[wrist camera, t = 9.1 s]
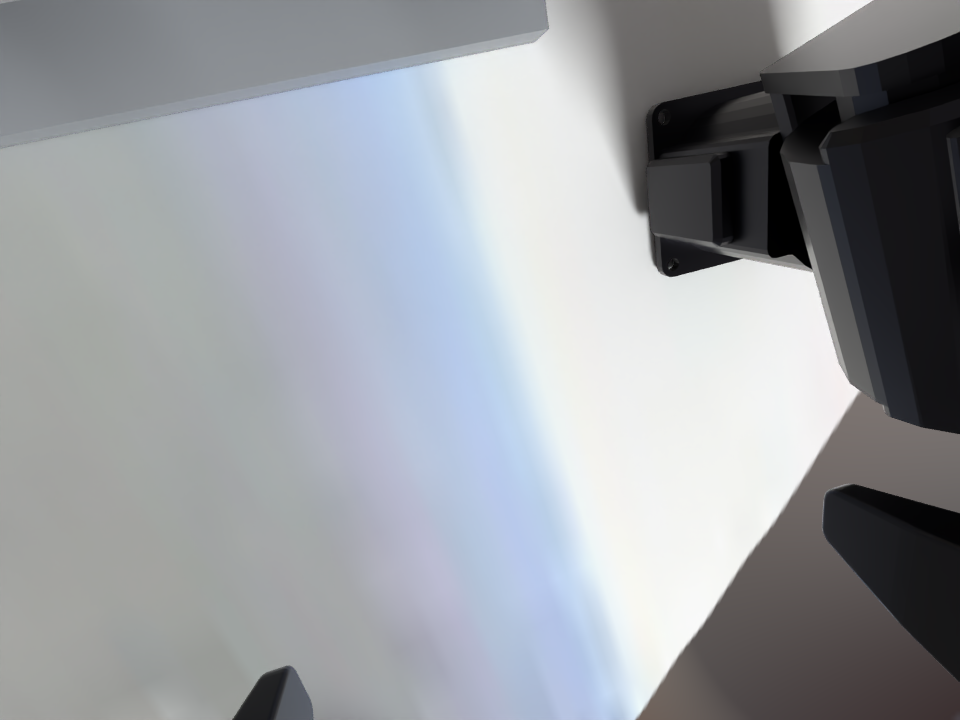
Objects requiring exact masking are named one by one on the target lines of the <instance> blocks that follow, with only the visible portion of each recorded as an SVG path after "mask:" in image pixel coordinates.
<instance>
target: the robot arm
mask: <svg viewBox="0 0 960 720" xmlns="http://www.w3.org/2000/svg"><path fill="white" fill-rule="evenodd" d="M760 77H761V80H762V81H759V82H754V83H749V84H745V85H740V86H736V87H731V88H727V89H722V90H717V91H713V92H708V93H704V94H699V95H695V96H690V97H685V98H681V99H676V100H672V101H667V102H663V103H660V104H657V105H655V106H653V107H652V108H651V109H650V110H649V112H648V114H647V118H646V126H647V139H648V153H649V164H648V166H647V168H646V174H647V187H648V200H649V214H650V227H651V232H652V233H653V234H654V235H655V248H656V261H657V268H658V271H659V272H660V273H661V274H663V275H665V276H669V277H675V276H678V275H682V274H686V273H690V272H694V271H698V270H701V269H705V268H709V267H713V266H717V265H721V264H724V263H728V262H732V261H736V260H740V259H748V260H753V261H758V262H763V263H768V264H773V265H779V266H784V267H789V268H794V269H799V270H804V271H810V272H814V276H815V280H816V283H817V287H818V290H819V294H820V297H821V301H822V305H823V308H824V312H825V315H826V319H827V322H828V326H829V330H830V333H831V337H832V340H833V344H834V347H835V351H836V355H837V358H838V362H839V364H840V366H841V368H842V370H843V372H844V373H845V375H846V377H847V379H848V381H849V382H850V384H852V385H853V386H855V387H856V388H857V389H859V390H860V391H862V392H863V393H864V394H866V395H867V396H869V397H870V398H872V399H873V400H874V401H876V402H878V403H880V404H882V405H883V409H884V411H885V413H886V414H887V415H888V416H890V417H892V418H895V419H898V420H901V421H904V422H907V423H910V424H913V425H916V426H920V427H923V428H928V429H934V430H940V431H945V432H951V433H957V434H960V0H873V1H872V2H870V3H869V4H867V5H865V6H864V7H862V8H861V9H859V10H857V11H856V12H854V13H853V14H851V15H850V16H848V17H846V18H845V19H843V20H842V21H840V22H838V23H837V24H835V25H834V26H832V27H831V28H829V29H827V30H826V31H824V32H823V33H821V34H819V35H818V36H816V37H815V38H813V39H812V40H810V41H808V42H807V43H805V44H804V45H802V46H800V47H799V48H797V49H796V50H794V51H793V52H791V53H789V54H788V55H786V56H785V57H783V58H781V59H780V60H778V61H777V62H775V63H774V64H772V65H770V66H769V67H767V68H766V69H764V70H763V71H761V72H760ZM660 112H662V113H664V116H665V120H664V123H663V124H662V125H661V124H660V123H659V121H658V115H659V113H660ZM671 259H673V261H674V263H673V266H672V267H671V268H670V269H668V262H669V261H670V260H671ZM822 530H823V533H824V536H825V537H826V539H827V541H828V542H829V544H830V545H831V546H832V547H833V548H834V549H835V551H836V552H837V553H838V554H839V555H840V556H841V557H842V558H843V560H844V561H845V562H846V563H847V564H848V565H849V567H850V568H851V569H852V570H853V571H854V572H855V573H856V575H857V576H858V577H859V578H860V579H861V580H862V581H863V583H864V584H865V585H866V586H867V587H868V588H869V589H870V591H871V592H872V593H873V594H874V595H875V596H876V597H877V599H878V600H879V601H880V602H881V603H882V604H883V606H884V607H885V608H886V609H887V610H888V611H889V612H890V613H891V615H893V617H894V618H895V619H896V620H897V621H898V622H899V623H900V624H901V625H902V626H903V627H904V629H905V630H906V631H907V632H908V633H910V635H911V636H912V637H913V638H914V639H915V640H916V641H917V642H918V643H919V644H920V645H921V646H923V648H925V649H926V650H927V651H928V652H929V653H930V654H931V655H932V656H933V657H934V658H935V659H936V660H937V661H938V662H939V663H940V664H941V665H942V666H943V667H944V668H945V669H946V670H947V671H948V672H949V673H950V674H951V675H952V676H953V677H955V679H956V680H957V681H958V682H959V683H960V513H957V512H953V511H950V510H946V509H942V508H939V507H935V506H931V505H928V504H924V503H921V502H917V501H914V500H910V499H906V498H903V497H899V496H895V495H892V494H888V493H885V492H881V491H877V490H874V489H870V488H866V487H863V486H859V485H855V484H845V485H842V486H839V487H835V488H832V489H830V490H828V491H827V492H826V493H825V495H824V503H823V519H822ZM232 720H313V708H312V703H311V700H310V698H309V696H308V694H307V692H306V690H305V688H304V686H303V684H302V682H301V680H300V678H299V676H298V674H297V672H296V670H295V669H294V668H293V667H292V666H285V667H282V668H278V669H275V670H272V671H269V672H267V673H265V674H263V675H262V676H261V677H260V679H259V680H258V681H257V683H256V684H255V686H254V688H253V689H252V691H251V692H250V694H249V695H248V697H247V698H246V700H245V701H244V703H243V704H242V706H241V707H240V709H239V710H238V712H237V713H236V715H235V716H234V718H233V719H232Z"/></svg>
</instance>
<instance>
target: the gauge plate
mask: <svg viewBox="0 0 960 720" xmlns="http://www.w3.org/2000/svg"><path fill="white" fill-rule="evenodd" d="M548 29H549V26H548V18H547V11H546V3H545V0H0V148H4V147H9V146H14V145H19V144H24V143H29V142H34V141H39V140H44V139H49V138H54V137H59V136H64V135H69V134H74V133H79V132H85V131H90V130H95V129H100V128H105V127H110V126H115V125H120V124H125V123H130V122H135V121H140V120H145V119H150V118H155V117H160V116H165V115H170V114H175V113H180V112H185V111H190V110H195V109H200V108H205V107H210V106H215V105H220V104H225V103H230V102H236V101H241V100H246V99H251V98H256V97H261V96H266V95H271V94H276V93H281V92H286V91H291V90H296V89H301V88H306V87H311V86H316V85H321V84H326V83H331V82H336V81H341V80H346V79H351V78H356V77H361V76H366V75H371V74H376V73H381V72H387V71H392V70H397V69H402V68H407V67H412V66H417V65H422V64H427V63H432V62H437V61H442V60H447V59H452V58H457V57H462V56H467V55H472V54H477V53H482V52H487V51H492V50H497V49H502V48H507V47H512V46H517V45H522V44H527V43H532V42H535V41H537V40H538V39H539V38H540V37H541V36H542V35H543V34H544V33H545V32H546V31H547V30H548Z"/></svg>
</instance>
